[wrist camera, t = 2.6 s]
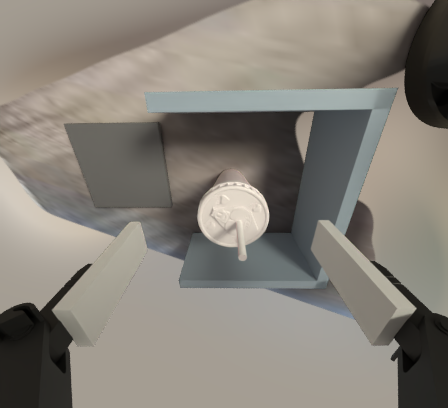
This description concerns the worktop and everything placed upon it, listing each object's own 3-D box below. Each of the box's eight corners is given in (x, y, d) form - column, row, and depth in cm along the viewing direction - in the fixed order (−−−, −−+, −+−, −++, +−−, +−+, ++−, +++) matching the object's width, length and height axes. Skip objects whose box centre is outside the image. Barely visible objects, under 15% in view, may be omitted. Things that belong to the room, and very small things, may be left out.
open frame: (327, 98, 19) (398, 87, 11) (297, 239, 28) (325, 288, 20) (178, 101, 20) (144, 92, 12) (193, 238, 28) (180, 287, 20)
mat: (159, 122, 21) (157, 122, 20) (172, 205, 26) (171, 207, 25) (67, 123, 21) (63, 123, 21) (98, 205, 26) (95, 207, 26)
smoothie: (242, 209, 26) (255, 297, 13) (201, 193, 25) (174, 272, 12) (263, 170, 23) (305, 234, 11) (218, 150, 22) (205, 196, 10)
